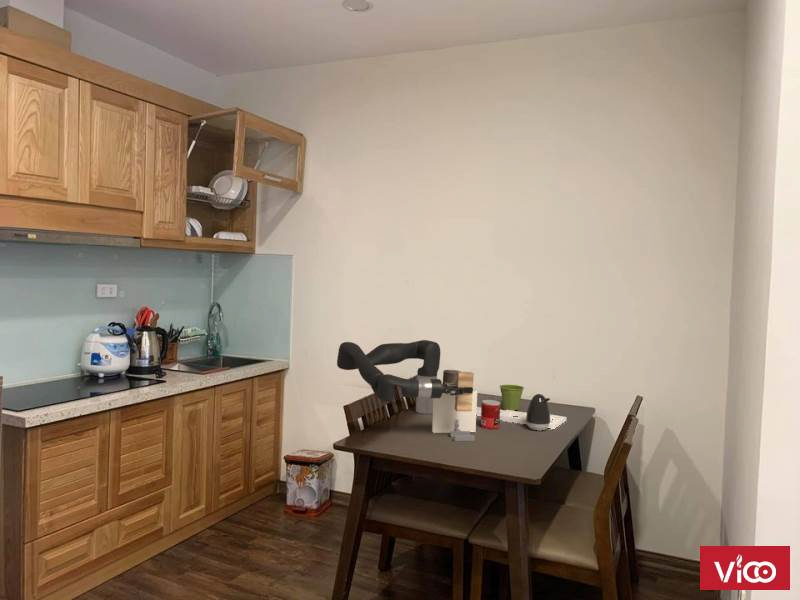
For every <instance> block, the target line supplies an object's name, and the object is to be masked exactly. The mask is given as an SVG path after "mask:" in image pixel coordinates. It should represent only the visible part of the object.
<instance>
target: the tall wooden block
mask: <svg viewBox="0 0 800 600" xmlns="http://www.w3.org/2000/svg"><path fill="white" fill-rule="evenodd" d="M474 375H475V374H474V372H472V371H461V372H456V385H457V386H458V387H472V388H473V389H474ZM459 392H460V390H459ZM472 396H473V393H463V394H462V395H455V410H456V411H472Z"/></svg>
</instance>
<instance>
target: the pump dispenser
mask: <svg viewBox="0 0 800 600" xmlns="http://www.w3.org/2000/svg"><path fill="white" fill-rule="evenodd" d="M550 400H551V399H550V398H549V397H545V396H544V395H543V394H541V393H537V394H534V395H533V396H532V398H531V400H530V401H529V404H528V406H527V410H526V412H527V414H526V421H527V425H526V426H527V427H528V428H529V429H530V430H532V431H535V430H537V432H542V430H543V431H545V430H548V429H547V427H548V426H549V423H550V415H551V412H550V411H551V410H550V407H549V403H548V402H549V401H550Z"/></svg>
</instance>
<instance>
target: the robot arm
mask: <svg viewBox="0 0 800 600" xmlns="http://www.w3.org/2000/svg"><path fill="white" fill-rule="evenodd" d="M409 359H411V360H413V359H414V360H417V359H418V360H423V365H422V366H421V367H418V369H417V372H416V373H417V375H416V376H417V377H416V379H415V378H413V379H412V378H411V379H410V378H409V379H408V378H403V377H400V376H396V375H393V374H388V373H387V374H384V373H383V372H382V371H381V370H380V369H379V368H378V367H377V366H381V365H382V366H384V365H395V364H399V363H402V362H403V361H405V360H409ZM440 362H441V348H440V344H439V343H437V342H435V341H433V340H427V339H423V340H418V341H412V342H393V343H392V342H391V343H383V344H378V346H376V347H375V348H373V349H372V350H371V351H369V352H368V353H367V354H366V353H365V352H364V351H363V349H362V348H361V347H360V345H358V344H356V343H354V342H351V341H345V342H342V343H340V345H339V347H338V353H337V360H336V366H337V367H338V368H339V369H340V370H344V371H354V370H358V372H359V374H360V376H361V378H362V379H363V380H364V381H365V382H366V383H367V384H368V385H369V386H370V388H371V390H372V391H373V393H374V395H375V396H376V397H377V399H378V400H379V401H382V402H384V403H390V402H393V400H394V399H395V398H396V393H397V391H396V390H397V387H399V388H400V389H401V395H402V397H404V398H414V399H415V412H416V413H418V414H427V415H431V414H432V415H433V398H441V396H442V393H446V395H451V396H452V395H462V394H463V393H473V391H474V387H473V388H472V387H458V386H457V385H456V383H445V382H444V383H443V381H442V379H440V378H438V371H439V370H440V364H441V363H440ZM459 390H460V392H459Z"/></svg>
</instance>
